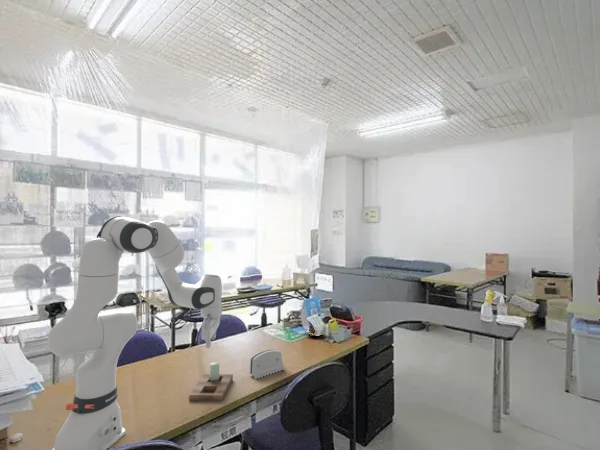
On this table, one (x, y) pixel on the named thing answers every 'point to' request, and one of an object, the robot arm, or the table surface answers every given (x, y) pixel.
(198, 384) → the board
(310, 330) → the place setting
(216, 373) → the peg
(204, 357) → the table surface
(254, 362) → the grey rounded block
